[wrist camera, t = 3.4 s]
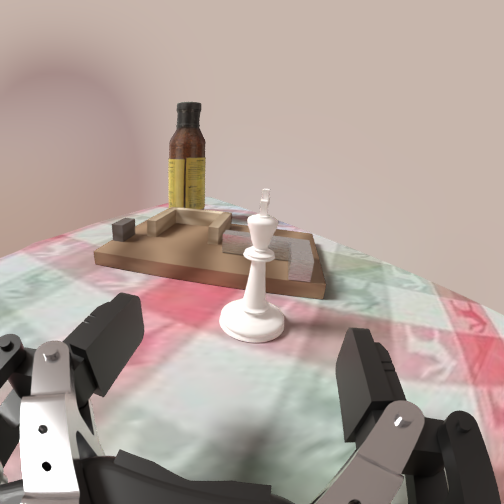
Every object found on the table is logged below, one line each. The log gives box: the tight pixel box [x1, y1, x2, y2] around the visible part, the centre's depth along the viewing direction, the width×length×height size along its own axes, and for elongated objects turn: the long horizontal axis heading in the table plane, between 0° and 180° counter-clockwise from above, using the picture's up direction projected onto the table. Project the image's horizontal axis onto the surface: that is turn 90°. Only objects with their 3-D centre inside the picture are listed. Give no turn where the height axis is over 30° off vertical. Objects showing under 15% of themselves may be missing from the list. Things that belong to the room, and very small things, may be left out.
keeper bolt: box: [222, 230, 314, 282], centre depth 27 cm, size 9×6×2 cm, turn 83°
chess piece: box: [220, 189, 284, 343], centre depth 19 cm, size 5×5×10 cm
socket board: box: [94, 207, 326, 299], centre depth 33 cm, size 24×16×4 cm, turn 83°
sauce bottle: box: [169, 102, 205, 210], centre depth 43 cm, size 7×6×20 cm
